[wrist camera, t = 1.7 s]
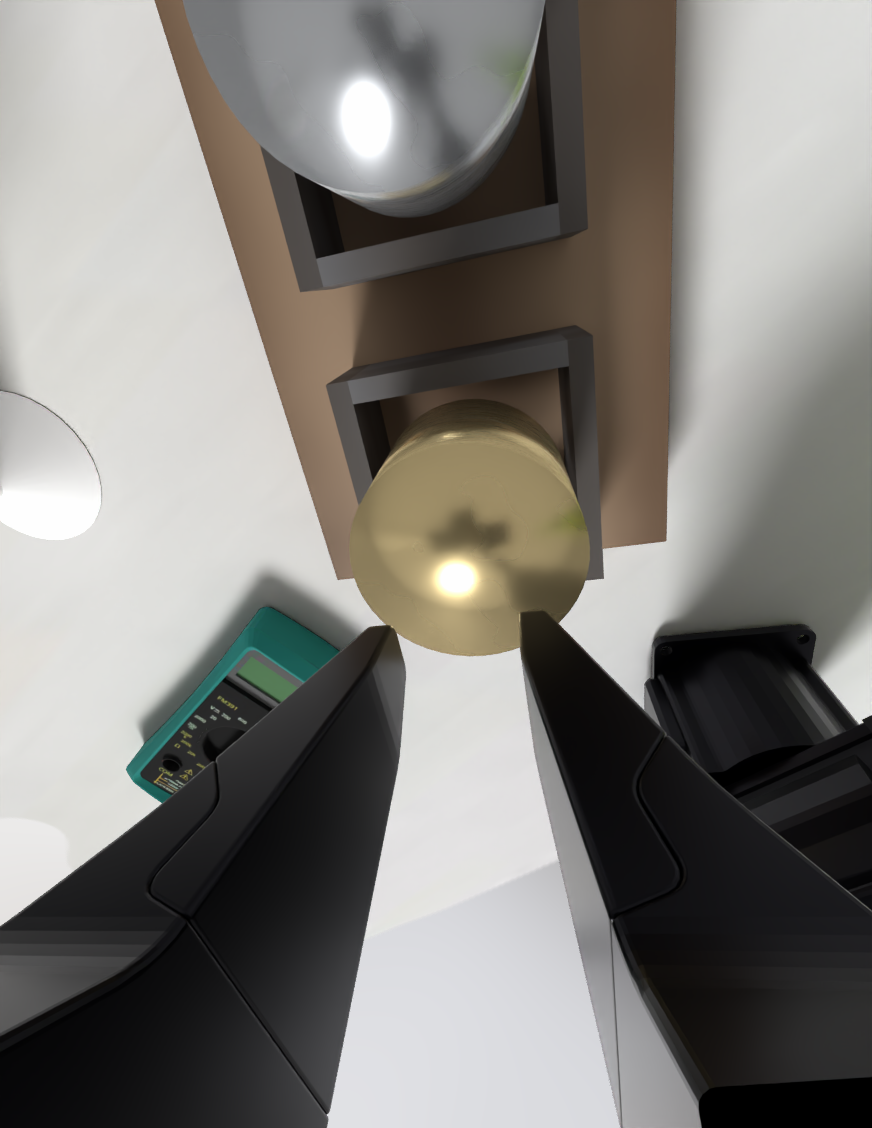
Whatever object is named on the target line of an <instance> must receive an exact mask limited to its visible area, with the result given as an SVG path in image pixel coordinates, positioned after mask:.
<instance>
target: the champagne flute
mask: <svg viewBox="0 0 872 1128" xmlns="http://www.w3.org/2000/svg"><path fill="white" fill-rule="evenodd" d="M100 506H101V485H100V480H99V475H98V473H97V470H96V467H95V465H94V462H93V460H92V458H91V456H90V455H89V453H88V451H87V449H86V448H85V446H84V445H83V443H82V442H81V441H80V440H79V438H78V437H77V436H76V434H75V433H74V432H73V431H72V430H71V429H70V428H69V427H68V426H67V425H66V424H65V423H64V422H63V421H62V420H61V419H60V418H58V417H57V416H56V415H54V414H53V413H52V412H50V411H49V410H48V409H46V408H45V407H43V406H41V405H39V404H38V403H36V402H34V401H32V400H30V399H28V398H25V397H22V396H20V395H17V394H14V393H9V392H4V391H0V521H1V522H3V523H4V524H6V525H8V526H10V527H12V528H14V529H15V530H17V531H19V532H22V533H25V534H28V535H30V536H33V537H37V538H43V539H49V540H62V539H67V538H71V537H75V536H77V535H79V534H81V533H83V532H84V531H86V530H87V529H88V528H89V527H90V526H91V525H92V524H93V522H94V521H95V519H96V517H97V516H98V513H99V509H100Z"/></svg>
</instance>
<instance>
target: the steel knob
mask: <svg viewBox="0 0 872 1128" xmlns="http://www.w3.org/2000/svg"><path fill="white" fill-rule="evenodd" d="M183 4H184V8H185V12H186V16H187V19H188V22H189V25H190V28H191V31H192V34H193V37H194V39H195V42H196V45H197V48H198V50H199V52H200V55H201V57H202V59H203V61H204V63H205V66H206V68H207V70H208V72H209V74H210V76H211V78H212V80H213V82H214V83H215V85H216V87H217V89H218V90H219V92H220V94H221V96H222V97H223V99H224V101H225V102H226V104H227V105H228V106H229V108H230V109H231V111H232V112H233V113H234V115H235V116H236V118H237V119H238V120H239V122H240V123H241V124H242V125H243V127H244V128H245V129H246V130H247V131H248V132H249V133H250V134H251V136H252V137H253V138H254V139H255V140H256V141H257V142H258V143H259V144H260V145H261V146H262V147H263V148H264V149H266V150H267V151H268V152H269V153H270V154H271V155H272V156H273V157H275V158H276V159H277V160H278V161H280V162H281V163H283V164H284V165H286V166H287V167H289V168H290V169H292V170H293V171H295V172H296V173H298V174H300V175H302V176H304V177H306V178H308V179H310V180H311V181H313V182H315V183H317V184H319V185H321V186H323V187H325V188H327V189H329V190H331V191H333V192H335V193H337V194H339V195H341V196H343V197H344V198H346V199H348V200H350V201H352V202H354V203H356V204H358V205H360V206H362V207H364V208H366V209H368V210H370V211H373V212H377V213H380V214H383V215H387V216H394V217H419V216H426V215H430V214H433V213H436V212H440V211H443V210H445V209H447V208H449V207H451V206H453V205H455V204H457V203H458V202H460V201H461V200H463V199H464V198H466V197H467V196H469V195H470V194H471V193H472V192H473V191H474V190H476V189H477V188H478V187H479V186H480V185H481V184H482V183H483V182H484V181H485V180H486V179H487V178H488V176H489V175H490V174H491V173H492V172H493V171H494V169H495V168H496V166H497V165H498V163H499V162H500V160H501V159H502V158H503V156H504V155H505V153H506V151H507V149H508V147H509V145H510V143H511V141H512V139H513V137H514V135H515V133H516V130H517V128H518V125H519V123H520V120H521V117H522V114H523V110H524V107H525V103H526V100H527V96H528V91H529V85H530V80H531V75H532V69H533V64H534V59H535V53H536V48H537V43H538V37H539V32H540V27H541V21H542V16H543V11H544V5H545V0H183Z"/></svg>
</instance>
